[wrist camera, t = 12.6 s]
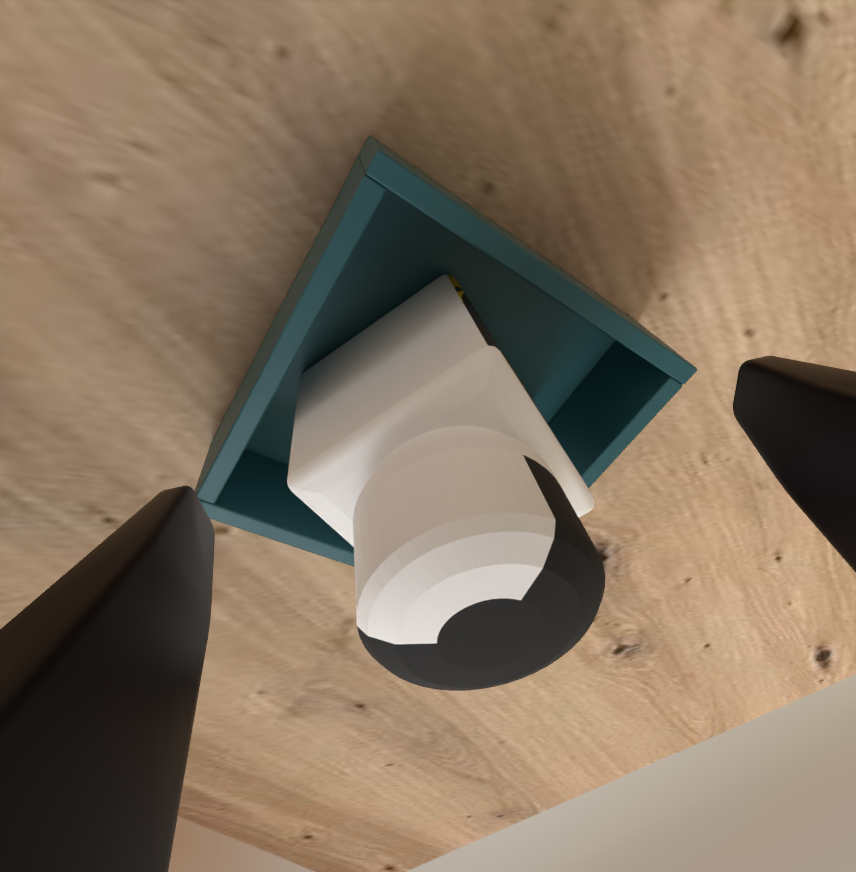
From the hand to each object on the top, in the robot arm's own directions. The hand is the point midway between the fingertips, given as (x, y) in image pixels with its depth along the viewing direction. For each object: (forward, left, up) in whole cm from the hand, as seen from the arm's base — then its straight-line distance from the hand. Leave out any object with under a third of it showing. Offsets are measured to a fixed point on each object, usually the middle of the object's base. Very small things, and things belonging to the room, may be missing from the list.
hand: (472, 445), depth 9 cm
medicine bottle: (-3, -5, -13) cm, 14 cm away
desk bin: (-3, -5, -13) cm, 14 cm away
